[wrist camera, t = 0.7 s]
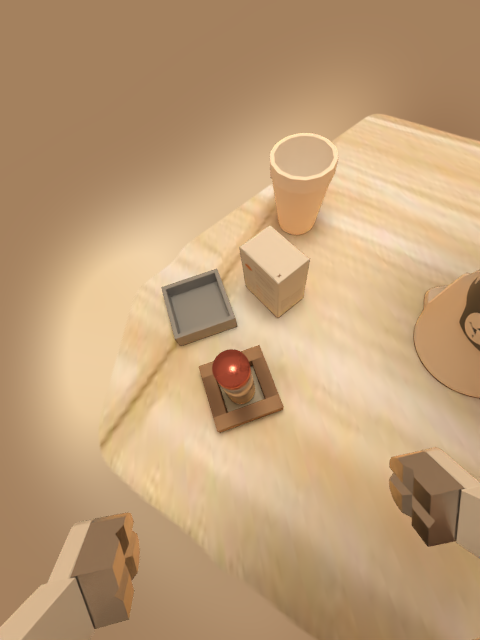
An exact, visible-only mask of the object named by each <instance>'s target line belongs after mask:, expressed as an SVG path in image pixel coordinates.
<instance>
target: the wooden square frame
mask: <svg viewBox="0 0 480 640" xmlns="http://www.w3.org/2000/svg"><path fill="white" fill-rule="evenodd" d="M241 352H242V353H243V354H244V355H245V356H246V357H247V359H248V361H249V364H250V366H252V365H253V367H254V370H255V373H256V375H257V378H258V381H259V384H260V386H261V389H262V392H263V394H264V397H265V399H264V400H261V401H258V402H255V403H253V404H250V405H247V406H244V407H242V408H239V409H236V410H233V411H231V412H227V408H226V405H225V402H224V399H223V396H222V392H221V389H220V386H219V383H218V382H217V380H216V379H215V377H214V375H213V372H212V366H213V362H214V361H213V362H210V363H207V364H204V365H202V366H199V369H200V373H201V376H202V380H203V383H204V387H205V390H206V394H207V397H208V401H209V404H210V408H211V411H212V414H213V418H214V421H215V425H216V428H217V431H218V432H220V433H221V432H223V431H226V430H229V429H232V428H234V427H237V426H240V425H242V424H245V423H248V422H251V421H253V420H256V419H259V418H261V417H264V416H267V415H270V414H272V413H275V412H278V411H281V410H283V405H282V402H281V399H280V397H279V394H278V392H277V389H276V387H275V384H274V381H273V379H272V376H271V374H270V371H269V369H268V366H267V363H266V361H265V358H264V356H263V353H262V351H261V348H260V345H258V346H255V347H252V348H250V349H247V350H244V351H241Z"/></svg>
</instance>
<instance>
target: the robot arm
mask: <svg viewBox="0 0 480 640" xmlns="http://www.w3.org/2000/svg"><path fill="white" fill-rule="evenodd" d="M414 342H415V347H416V350H417V353H418V355H419V357H420V359H421V361H422V363H423V364H424V366H425V367H426V368H427V370H428V371H429V372H430V373H431V374H432V375H433V376H434V377H435V378H436V379H438V380H439V381H440V382H441V383H443V384H444V385H446V386H447V387H449V388H451V389H453V390H455V391H457V392H460V393H462V394H465V395H469V396H473V397H478V398H480V270H478V271H476V272H474V273H472V274H469V273H466V274H464V275H462V276H460V277H459V278H458V279H457V280H455V281H454V282H453V283H452V284H450V285H446V286H440V287H434V288H431V289H430V290H428V291H427V292H426V294H425V299H424V310H423V312H422V313H421V315H420V317H419V318H418V320H417V323H416V326H415V330H414ZM389 467H390V469H391V470H392V471H393V472H394V473H393V474H392V476H391V477H390V479H389V487H390V491H391V494H392V497H393V499H394V501H395V503H396V505H397V506H398V508H399V509H400V510H401V512H402V513H404V514H406V515H408V516H410V517H411V518H412V526H413V528H414V529H415V530H416V532H417V533H418V534H419V536H420V537H421V538H422V540H423V541H424V542H425V544H426V545H427V546H428V547H429V546H434V545H439V544H444V543H449V542H454V541H456V543H457V544H459V545H460V546H462V547H463V548H465V549H466V550H468V551H469V552H471V553H472V554H474V555H475V556H477V557H478V558H480V482H479V481H477V480H476V479H475V478H474V477H473V476H472V475H470V474H469V473H468V472H467V471H466V470H465V469H463V468H462V467H461V466H460V465H459V464H458V463H456V462H455V461H454V460H453V459H452V458H451V457H449V456H448V455H447V454H446V453H445V452H444V451H442V450H441V449H439V448H437V447H434V448H430V449H425V450H421V451H416V452H412V453H407V454H403V455H398V456H394V457H391V459H390V466H389ZM133 523H134V521H133V518H132V515H131V513H122V514H117V515H112V516H106V517H101V518H95V519H92V520H86V521H81V522H76V523H75V524H74V525H73V526H72V528H71V530H70V532H69V534H68V537H67V539H66V541H65V544H64V546H63V548H62V550H61V553H60V555H59V558H58V560H57V562H56V564H55V566H54V569H53V571H52V573H51V576H50V578H49V580H48V582H47V584H43V585H41V586H40V587H39V588H38V589H37V590H36V591H35V592H34V593H33V594H32V595H31V596H30V597H29V598H28V599H27V600H26V601H25V602H24V603H23V604H22V605H21V606H20V607H19V608H18V609H17V610H16V611H15V612H14V614H13V615H12V616H11V617H10V618H9V619H8V620H7V621H6V622H5V623H4V624H3V625H2V626H1V627H0V640H90V639H91V637H92V636H93V634H94V632H95V629H97V628H100V627H104V626H108V625H111V624H114V623H118V622H122V621H126V620H129V617H130V611H131V606H132V601H133V595H134V587H133V584H132V580H133V578H134V577H135V576H136V574H137V572H138V567H139V558H140V546H139V539H138V535H137V533H135V532H134V531H132V528H133ZM473 640H480V638H476V639H473Z"/></svg>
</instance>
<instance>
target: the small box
mask: <svg viewBox="0 0 480 640" xmlns="http://www.w3.org/2000/svg"><path fill="white" fill-rule="evenodd" d="M239 249H240V255H241V261H242V266H243V272H244V278H245V284H246V287H247V288H248V289H249V290H250V291H251V292H252V293H253V294H254V295H255V296H256V297H257V298H258V299H259V300H260V301H261V302H262V303H263V304H264V305H265V306H266V307H267V308H268V309H269V310H270V311H271V312H272V313H273V314H274V315H275V316H276V317H277V318H279V317H280V316H281V315H282V314H283V313H285V312H286V311H287V310H288V309H290V308H291V307H292V306H293V305H295V304H296V303H297V302H298V301H300V300H301V299H302V298H303V297H304V291H305V285H306V280H307V274H308V268H309V262H310V258H308V257H307V256H306V255H305V254H304V253H302V252H301V251H300V250H299V249H298V248H297V247H295V246H294V245H293V244H292V243H291V242H289V241H288V240H287V239H286V238H285V237H283V236H282V235H281V234H280V233H279V232H278V231H276V230H275V229H274V228H273V227H272V226H271V225H270V226H268V227H267V228H265V229H264V230H262V231H261V232H260V233H258V234H257V235H255V236H254V237H253V238H251V239H250V240H248V241H247V242H246V243H244V244H243V245H241V246H240V247H239Z"/></svg>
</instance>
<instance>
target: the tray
mask: <svg viewBox="0 0 480 640" xmlns="http://www.w3.org/2000/svg"><path fill="white" fill-rule="evenodd" d="M161 288H162V292H163V296H164V299H165V303H166V307H167V311H168V315H169V318H170V322H171V326H172V330H173V334H174V337H175V340H176V341H177V342H178V343H179V345H180V346H183V345H185V344H188V343H191V342H194V341H197V340H200V339H203V338H206V337H208V336H211V335H214V334H217V333H220V332H223V331H226V330H228V329H231V328H234V327H237V323H236V319H235V316H234V313H233V311H232V308H231V305H230V302H229V300H228V297H227V294H226V292H225V289H224V286H223V283H222V281H221V278H220V275H219V273H218V270H217V269H214V270H211V271H208V272H205V273H202V274H200V275H197V276H194V277H191V278H188V279H185V280H182V281H179V282H176V283H173V284H170V285H167V286H164V287H161Z"/></svg>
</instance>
